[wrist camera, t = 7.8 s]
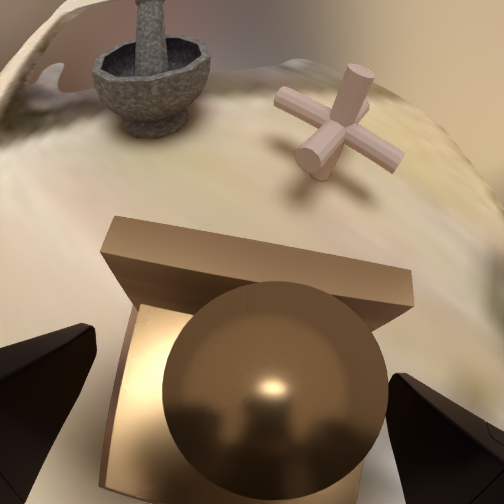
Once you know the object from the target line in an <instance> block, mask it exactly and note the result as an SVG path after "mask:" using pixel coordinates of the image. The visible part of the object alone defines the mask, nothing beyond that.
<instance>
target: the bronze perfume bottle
mask: <svg viewBox="0 0 504 504" xmlns="http://www.w3.org/2000/svg"><path fill="white" fill-rule="evenodd" d="M387 404H388V377H387V369H386V365H385V362H384V358H383V355H382V352H381V350H380V347H379V345H378V343H377V341H376V339H375V338H374V336H373V334H372V332H371V331H370V330H369V328H368V327H367V325H366V324H365V323H364V321H363V320H362V319H361V318H360V317H359V316H358V315H357V314H356V313H355V312H354V311H353V310H352V309H350V308H349V307H348V306H347V305H346V304H344V303H343V302H341V301H340V300H338V299H337V298H335V297H334V296H332V295H330V294H328V293H326V292H324V291H322V290H319V289H316V288H314V287H311V286H308V285H303V284H299V283H294V282H285V281H266V282H259V283H253V284H249V285H245V286H241V287H238V288H236V289H233V290H230V291H228V292H226V293H224V294H222V295H220V296H218V297H217V298H215V299H213V300H212V301H210V302H209V303H208V304H206V305H205V306H203V307H202V308H201V309H200V310H199V311H198V312H197V313H196V314H195V315H190V314H185V313H180V312H175V311H171V310H166V309H162V308H157V307H153V306H148V305H144V304H141V305H140V309H139V312H138V316H137V320H136V324H135V328H134V332H133V336H132V340H131V344H130V348H129V352H128V357H127V361H126V365H125V370H124V374H123V379H122V384H121V389H120V394H119V399H118V404H117V410H116V415H115V421H114V427H113V433H112V439H111V446H110V453H109V460H108V468H107V476H106V485H105V487H108V488H111V489H114V490H117V491H120V492H123V493H126V494H129V495H133V496H136V497H140V498H143V499H147V500H151V501H155V502H159V503H163V504H356V500H357V495H358V489H359V483H360V477H361V471H362V464H363V459H364V458H365V456H366V455H367V454H368V452H369V451H370V449H371V448H372V446H373V444H374V443H375V441H376V439H377V437H378V435H379V433H380V430H381V428H382V425H383V422H384V419H385V415H386V411H387Z"/></svg>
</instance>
